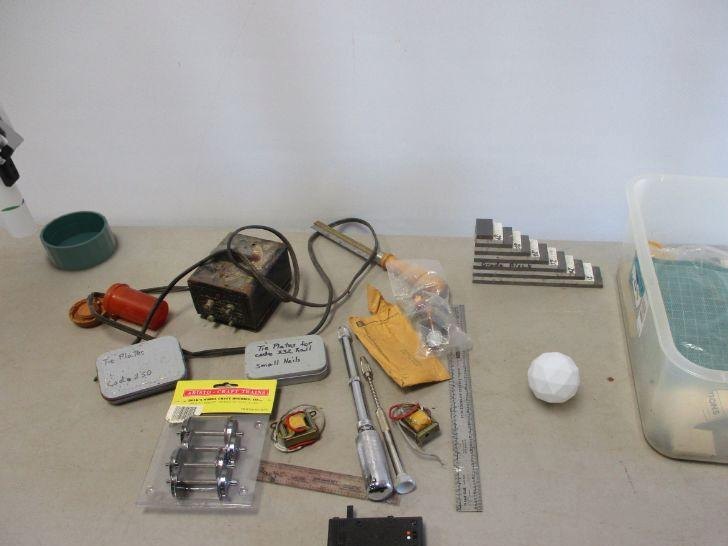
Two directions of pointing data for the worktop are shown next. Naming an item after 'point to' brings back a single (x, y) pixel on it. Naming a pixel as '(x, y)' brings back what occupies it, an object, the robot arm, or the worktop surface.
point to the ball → (553, 377)
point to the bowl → (78, 240)
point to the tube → (15, 212)
